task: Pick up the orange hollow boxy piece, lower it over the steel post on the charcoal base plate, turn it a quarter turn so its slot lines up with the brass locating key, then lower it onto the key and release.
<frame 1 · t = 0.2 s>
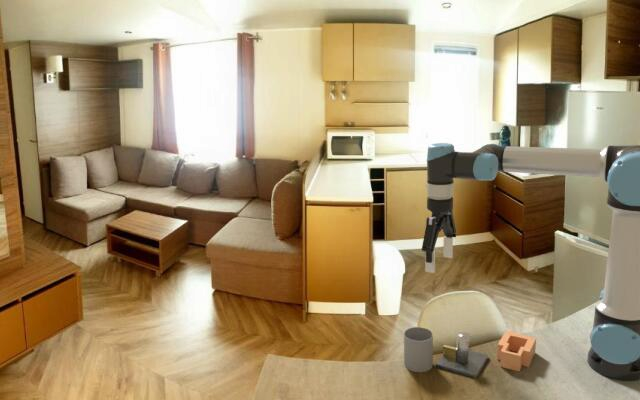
hand: (439, 264, 162), 27 cm above the table, fingers open, 13 cm apart
cup: (418, 364, 160), on the table
orange hollow boxy piece: (516, 356, 162), on the table
post base: (462, 362, 160), on the table
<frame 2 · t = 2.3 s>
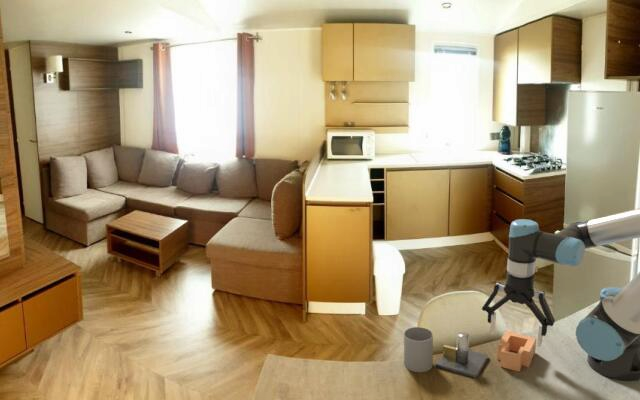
hand: (515, 338, 161), 6 cm above the table, fingers open, 13 cm apart
nothing on the table moved.
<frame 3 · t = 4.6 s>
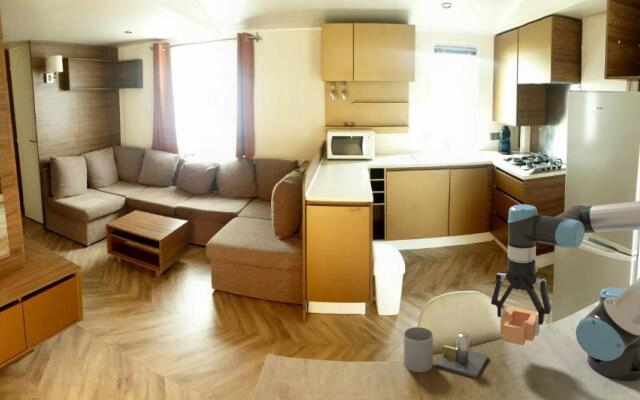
hand: (519, 330, 159), 9 cm above the table, fingers closed on orange hollow boxy piece, 9 cm apart
orange hollow boxy piece: (519, 331, 159), point 9 cm above the table, touching gripper
everything else where it was.
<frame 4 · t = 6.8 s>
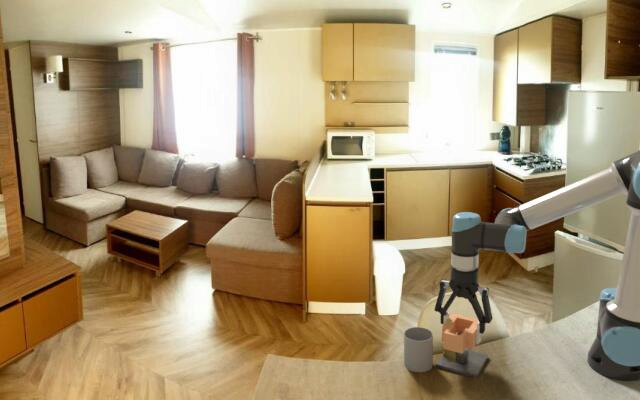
hand: (461, 338, 158), 8 cm above the table, fingers closed on orange hollow boxy piece, 9 cm apart
orange hollow boxy piece: (461, 338, 158), point 8 cm above the table, touching gripper
everything else where it was.
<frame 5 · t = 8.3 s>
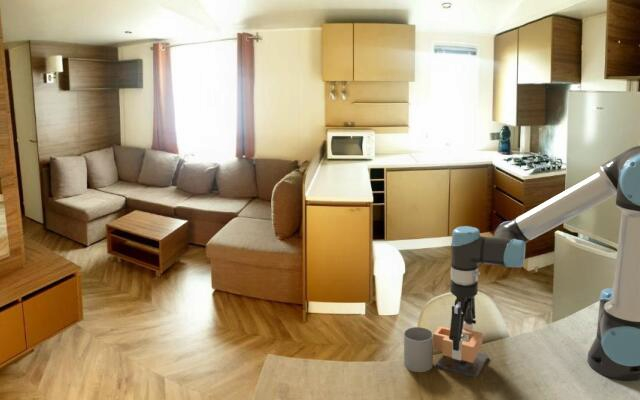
hand: (462, 350, 159), 4 cm above the table, fingers closed on orange hollow boxy piece, 9 cm apart
orange hollow boxy piece: (462, 351, 159), point 4 cm above the table, touching gripper
everything else where it was.
when the fingers open (1 cm above the table, at t = 9.2 s): orange hollow boxy piece stays where it is, resting on post base.
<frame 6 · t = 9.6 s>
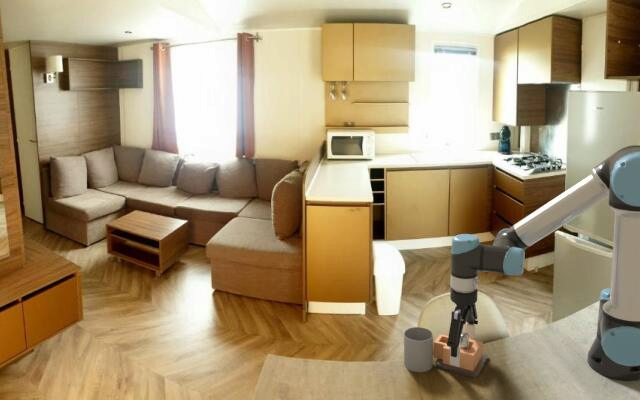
hand: (462, 354, 159), 3 cm above the table, fingers open, 13 cm apart
orange hollow boxy piece: (462, 359, 159), point 1 cm above the table, touching post base
everything else where it was.
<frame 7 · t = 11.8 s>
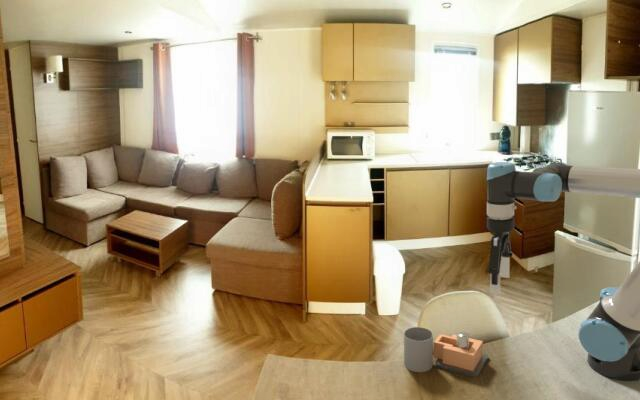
hand: (500, 285, 159), 22 cm above the table, fingers open, 13 cm apart
nothing on the table moved.
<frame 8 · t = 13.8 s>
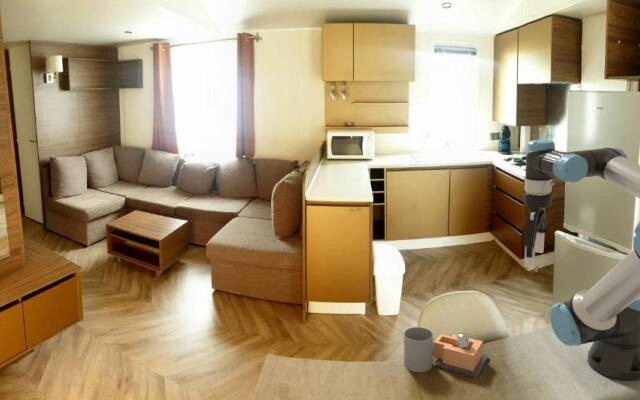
hand: (534, 259, 165), 27 cm above the table, fingers open, 13 cm apart
nothing on the table moved.
at the end: orange hollow boxy piece 0.1 cm off-centre on the post base, point 1.0 cm above the post base's base; orange hollow boxy piece tilted 0°; the gripper is holding nothing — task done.
